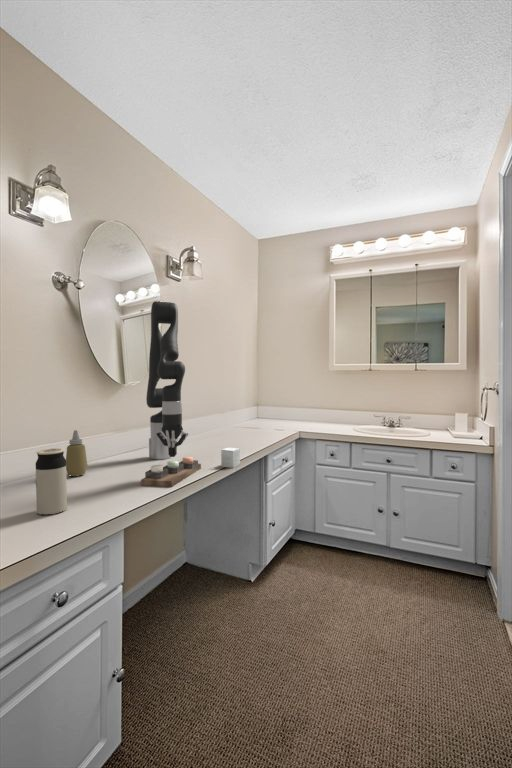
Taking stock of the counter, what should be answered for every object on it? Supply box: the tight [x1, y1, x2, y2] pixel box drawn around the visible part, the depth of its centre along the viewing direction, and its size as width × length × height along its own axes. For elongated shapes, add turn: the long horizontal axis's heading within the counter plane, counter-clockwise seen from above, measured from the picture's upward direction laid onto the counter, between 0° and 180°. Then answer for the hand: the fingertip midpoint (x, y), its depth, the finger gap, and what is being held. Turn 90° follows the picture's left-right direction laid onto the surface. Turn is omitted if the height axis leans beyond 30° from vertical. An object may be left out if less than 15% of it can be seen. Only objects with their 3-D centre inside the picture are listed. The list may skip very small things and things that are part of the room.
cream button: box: [150, 464, 164, 473], centre depth 149 cm, size 4×4×3 cm
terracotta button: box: [182, 456, 194, 463], centre depth 164 cm, size 4×4×3 cm
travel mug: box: [35, 447, 68, 515], centre depth 118 cm, size 8×8×18 cm
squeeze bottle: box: [65, 429, 88, 476], centre depth 160 cm, size 8×8×18 cm
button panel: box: [140, 459, 202, 488], centre depth 157 cm, size 12×28×4 cm, turn 166°
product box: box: [220, 447, 241, 469], centre depth 173 cm, size 6×6×7 cm
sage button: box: [166, 460, 180, 468], centre depth 157 cm, size 4×4×3 cm
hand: (172, 456), depth 157 cm, fingers closed
